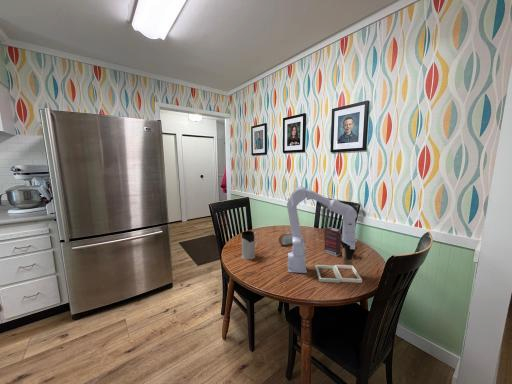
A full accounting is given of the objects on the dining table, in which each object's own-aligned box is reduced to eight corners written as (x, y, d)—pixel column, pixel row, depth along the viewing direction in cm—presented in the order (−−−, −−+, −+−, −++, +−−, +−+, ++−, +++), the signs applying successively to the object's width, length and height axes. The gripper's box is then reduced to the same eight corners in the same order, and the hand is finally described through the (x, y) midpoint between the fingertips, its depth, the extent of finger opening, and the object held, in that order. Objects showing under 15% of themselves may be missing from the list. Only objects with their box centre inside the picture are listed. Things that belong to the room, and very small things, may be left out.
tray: (340, 281, 99) (340, 278, 99) (334, 267, 112) (334, 264, 112) (362, 282, 98) (362, 279, 98) (352, 268, 111) (353, 265, 111)
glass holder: (238, 256, 128) (237, 233, 126) (254, 249, 138) (253, 227, 136) (248, 261, 122) (247, 236, 120) (264, 253, 132) (263, 230, 130)
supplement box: (340, 254, 128) (341, 229, 126) (336, 256, 125) (337, 231, 123) (328, 250, 135) (328, 226, 133) (323, 252, 132) (324, 228, 130)
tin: (295, 241, 152) (295, 230, 150) (298, 242, 149) (298, 231, 148) (278, 245, 144) (278, 233, 143) (281, 247, 141) (281, 235, 140)
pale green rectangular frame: (319, 281, 100) (319, 278, 99) (315, 267, 113) (315, 264, 113) (340, 282, 98) (340, 279, 98) (333, 268, 112) (333, 265, 111)
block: (344, 264, 103) (344, 250, 102) (341, 260, 107) (342, 247, 106) (352, 264, 102) (353, 251, 101) (350, 261, 106) (350, 248, 105)
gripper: (362, 236, 94) (361, 264, 96) (352, 226, 109) (351, 251, 110) (346, 236, 95) (345, 263, 97) (338, 226, 110) (337, 251, 111)
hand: (347, 257), depth 104 cm, fingers closed on block, 4 cm apart
